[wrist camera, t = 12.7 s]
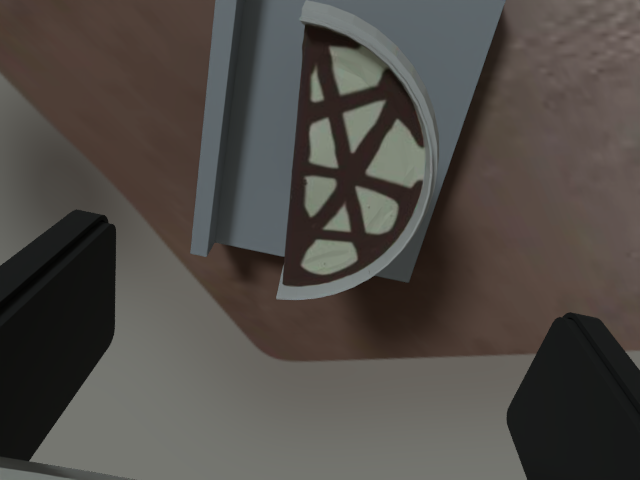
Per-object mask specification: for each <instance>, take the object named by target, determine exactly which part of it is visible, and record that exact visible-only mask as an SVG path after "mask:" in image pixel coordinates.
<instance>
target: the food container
mask: <svg viewBox="0 0 640 480" xmlns="http://www.w3.org/2000/svg"><path fill="white" fill-rule="evenodd" d="M299 20H300V21H301V22H302V24H303V25H304V26H305V28H304V38H303V43H302V67H301V78H300V89H299V99H298V111H297V123H296V132H295V145H294V155H293V166H292V176H291V189H290V202H289V212H288V222H287V233H286V244H285V256H284V265H283V270H282V274H281V279H280V283H279V288H278V292H277V297H276V299H284V300H302V299H315V298H320V297H324V296H329V295H333V294H337V293H339V292H342V291H345V290H347V289H350V288H353V287H355V286H357V285H359V284H360V283H362V282H364V281H366V280H368V279H370V278H371V277H373V276H374V275H375V274H377V273H378V272H379V271H381V270H382V269H383V268H385V267H386V266H387V265H388V264H389V263H390V262H391V261H392V260H393V259H394V258H395V257H396V256H397V255H398V254H399V253H400V252H401V251H402V250H403V249H404V248H405V247H406V246H407V245H408V243H409V242H410V240H411V239H412V238H413V236H414V235H415V234H416V232H417V231H418V229H419V227H420V225H421V223H422V221H423V219H424V217H425V215H426V213H427V211H428V208H429V205H430V202H431V199H432V196H433V193H434V189H435V183H436V176H437V169H438V162H439V132H438V127H437V122H436V117H435V112H434V108H433V106H432V103H431V100H430V98H429V95H428V92H427V89H426V87H425V85H424V84H423V82H422V80H421V78H420V77H419V75H418V73H417V71H416V70H415V68H414V66H413V65H412V64H411V62H410V61H409V60H408V59H407V57H406V56H405V55H404V54H403V53H402V51H401V50H400V49H399V48H398V47H397V45H395V44H394V43H393V42H392V41H391V40H390V39H388V38H387V37H386V36H385V35H384V34H383V33H382V32H380V31H379V30H378V29H377V28H375V27H374V26H372V25H370V24H369V23H367V22H365V21H364V20H362V19H360V18H359V17H357V16H355V15H353V14H351V13H348V12H346V11H343V10H341V9H338V8H336V7H333V6H331V5H327V4H322V3H318V2H313V1H308V0H306V1H305V3H304V5H303V8H302V15H301V17H300V19H299Z"/></svg>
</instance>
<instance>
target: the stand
mask: <svg viewBox="0 0 640 480" xmlns="http://www.w3.org/2000/svg"><path fill="white" fill-rule="evenodd" d="M305 1H306V0H216V2H215V12H214V22H213V32H212V42H211V52H210V62H209V72H208V82H207V92H206V102H205V112H204V122H203V132H202V142H201V152H200V162H199V172H198V182H197V193H196V203H195V213H194V223H193V233H192V243H191V253H190V254H195V255H200V256H205V257H207V255H208V253H209V252H210V250H211V248H212V246H213V244H214V243H215V242H216V243H221V244H225V245H230V246H235V247H240V248H245V249H249V250H254V251H259V252H264V253H268V254H273V255H278V256H283V257H284V256H285V244H286V233H287V222H288V212H289V202H290V189H291V176H292V166H293V155H294V145H295V132H296V123H297V111H298V99H299V89H300V78H301V67H302V43H303V38H304V28H305V26H304V25H303V24H302V22H301V21H300V20H299V19H300V17H301V15H302V8H303V5H304V3H305ZM308 1H313V2H318V3H322V4H327V5H331V6H333V7H336V8H338V9H341V10H343V11H346V12H348V13H351V14H353V15H355V16H357V17H359V18H360V19H362V20H364V21H365V22H367V23H369V24H370V25H372V26H374V27H375V28H377V29H378V30H379V31H380V32H382V33H383V34H384V35H385V36H386V37H387V38H388V39H390V40H391V41H392V42H393V43H394V44H395V45H397V47H398V48H399V49H400V50H401V51H402V53H403V54H404V55H405V56H406V57H407V59H408V60H409V61H410V62H411V64H412V65H413V66H414V68H415V70H416V71H417V73H418V75H419V77H420V78H421V80H422V82H423V84H424V85H425V87H426V89H427V92H428V95H429V98H430V100H431V103H432V106H433V108H434V112H435V117H436V122H437V127H438V132H439V162H438V169H437V176H436V183H435V189H434V193H433V196H432V199H431V202H430V205H429V208H428V211H427V213H426V215H425V217H424V219H423V221H422V223H421V225H420V227H419V229H418V231H417V232H416V234H415V235H414V236H413V238H412V239H411V240H410V242H409V243H408V245H407V246H406V247H405V248H404V249H403V250H402V251H401V252H400V253H399V254H398V255H397V256H396V257H395V258H394V259H393V260H392V261H391V262H390V263H389V264H388V265H387V266H386V267H385V268H383V269H382V270H381V271H379V272H378V273H377V274H375V275H374V276H379V277H383V278H388V279H393V280H398V281H402V282H407V283H409V281H410V278H411V275H412V272H413V269H414V266H415V263H416V260H417V257H418V254H419V251H420V248H421V246H422V243H423V240H424V237H425V234H426V231H427V228H428V225H429V222H430V219H431V216H432V213H433V211H434V208H435V205H436V202H437V199H438V196H439V193H440V190H441V187H442V184H443V181H444V178H445V176H446V173H447V170H448V167H449V164H450V161H451V158H452V155H453V152H454V149H455V146H456V143H457V141H458V138H459V135H460V132H461V129H462V126H463V123H464V120H465V117H466V114H467V111H468V108H469V106H470V103H471V100H472V97H473V94H474V91H475V88H476V85H477V82H478V79H479V76H480V73H481V71H482V68H483V65H484V62H485V59H486V56H487V53H488V50H489V47H490V44H491V41H492V38H493V36H494V33H495V30H496V27H497V24H498V21H499V18H500V15H501V12H502V9H503V6H504V3H505V1H506V0H308Z"/></svg>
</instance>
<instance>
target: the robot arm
mask: <svg viewBox="0 0 640 480" xmlns="http://www.w3.org/2000/svg"><path fill="white" fill-rule="evenodd" d="M115 269H116V228H115V226H114V225H113V224H109V223H108V219H107V217H106V216H105V215H100V214H95V213H91V212H86V211H81V210H74V211H72V212H71V213H69V214H68V215H67V216H66V217H64V218H63V219H61V220H60V221H59V222H58V223H56V224H55V225H54V226H52V227H51V228H50V229H48V230H47V231H46V232H44V233H43V234H42V235H40V236H39V237H38V238H36V239H35V240H34V241H32V242H31V243H30V244H28V245H27V246H26V247H25V248H23V249H22V250H21V251H19V252H18V253H17V254H15V255H14V256H13V257H11V258H10V259H9V260H7V261H6V262H5V263H3V264H2V265H1V266H0V480H135V479H129V478H124V477H118V476H112V475H107V474H102V473H96V472H90V471H84V470H78V469H72V468H66V467H60V466H53V465H48V464H42V463H36V462H29V460H30V459H31V457H32V456H33V454H34V453H35V452H36V450H37V449H38V447H39V446H40V444H41V443H42V442H43V440H44V439H45V437H46V436H47V434H48V433H49V431H50V430H51V429H52V427H53V426H54V424H55V423H56V422H57V420H58V419H59V417H60V416H61V414H62V413H63V411H64V410H65V409H66V407H67V406H68V404H69V403H70V401H71V400H72V399H73V397H74V396H75V394H76V393H77V392H78V390H79V389H80V387H81V386H82V384H83V383H84V381H85V380H86V379H87V377H88V376H89V374H90V373H91V372H92V370H93V369H94V367H95V366H96V364H97V363H98V361H99V360H100V359H101V357H102V356H103V354H104V353H105V352H106V350H107V349H108V347H109V345H110V343H111V341H112V339H113V336H114V329H115ZM507 425H508V428H509V431H510V433H511V436H512V439H513V442H514V444H515V447H516V450H517V452H518V455H519V458H520V461H521V464H522V466H523V469H524V472H525V474H526V477H527V480H640V370H639V369H638V368H637V366H636V365H635V364H634V362H633V361H632V360H631V359H630V357H629V356H628V355H627V353H626V352H625V351H624V350H623V348H622V347H621V346H620V344H619V343H618V342H617V341H616V339H615V338H614V337H613V335H612V334H611V333H610V332H609V330H608V329H607V328H606V326H605V325H604V324H603V323H602V321H601V320H599V319H598V318H595V317H590V316H585V315H580V314H575V313H571V312H570V313H567V314H565V315H564V316H563V317H559V318H557V319H555V320H554V322H553V323H552V325H551V327H550V329H549V331H548V333H547V335H546V337H545V339H544V341H543V343H542V344H541V346H540V348H539V350H538V352H537V354H536V356H535V358H534V360H533V362H532V364H531V366H530V367H529V370H528V371H527V373H526V375H525V377H524V379H523V381H522V383H521V385H520V387H519V389H518V390H517V392H516V394H515V396H514V398H513V400H512V402H511V404H510V406H509V408H508V411H507Z"/></svg>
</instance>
